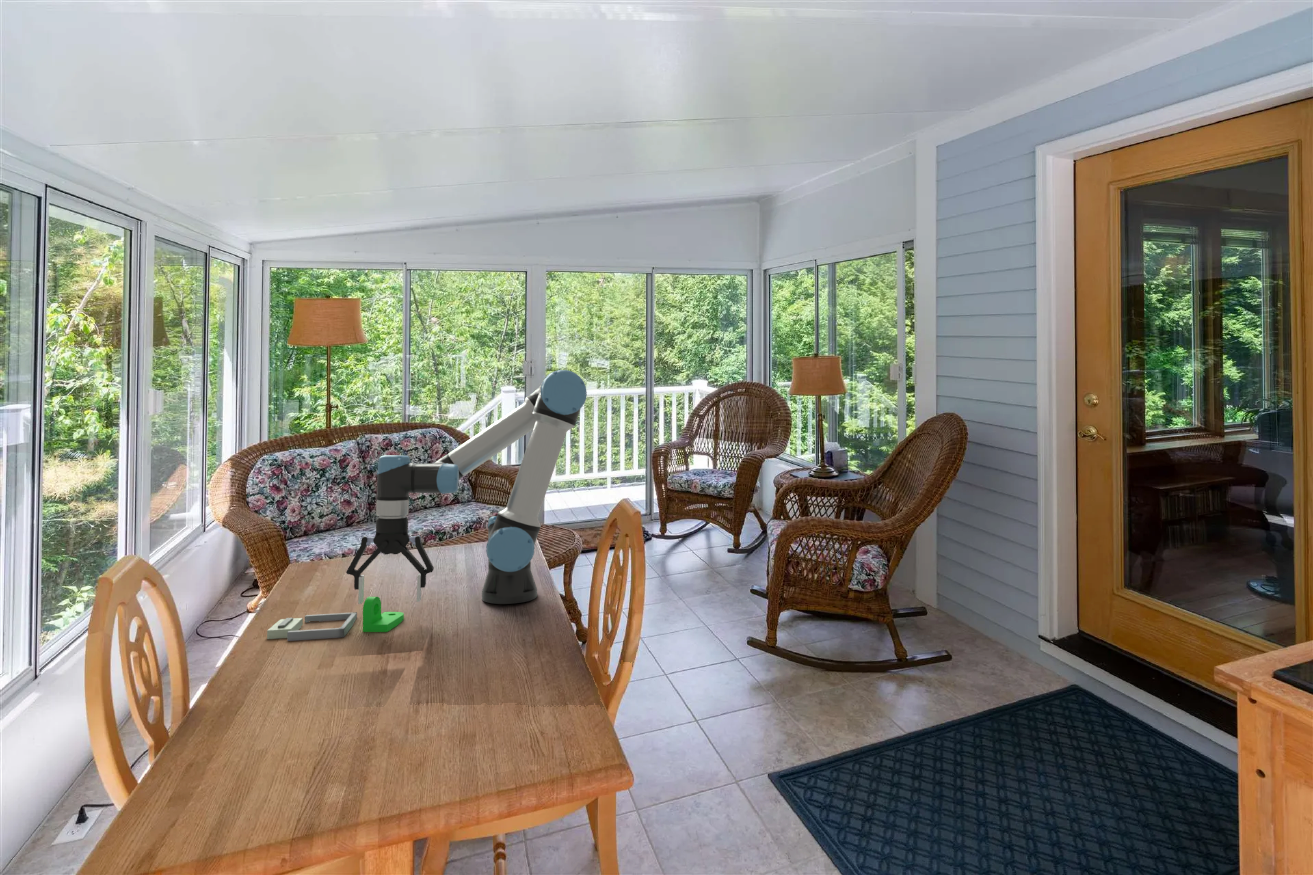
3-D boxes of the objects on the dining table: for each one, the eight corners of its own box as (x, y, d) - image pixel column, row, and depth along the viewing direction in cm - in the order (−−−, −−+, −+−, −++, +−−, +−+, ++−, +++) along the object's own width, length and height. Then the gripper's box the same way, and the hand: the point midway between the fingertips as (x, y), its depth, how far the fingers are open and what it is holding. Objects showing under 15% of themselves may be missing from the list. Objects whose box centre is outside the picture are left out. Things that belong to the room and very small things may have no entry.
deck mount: (356, 619, 171) (356, 609, 171) (343, 637, 156) (343, 626, 156) (283, 624, 167) (283, 614, 167) (263, 642, 152) (263, 631, 152)
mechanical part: (387, 632, 160) (387, 599, 160) (362, 632, 160) (362, 599, 160) (407, 619, 172) (407, 588, 172) (384, 619, 172) (384, 588, 172)
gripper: (445, 514, 173) (443, 596, 173) (341, 515, 167) (339, 599, 167) (443, 518, 166) (441, 603, 166) (334, 518, 160) (332, 606, 160)
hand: (390, 601), depth 166 cm, fingers open, 13 cm apart
